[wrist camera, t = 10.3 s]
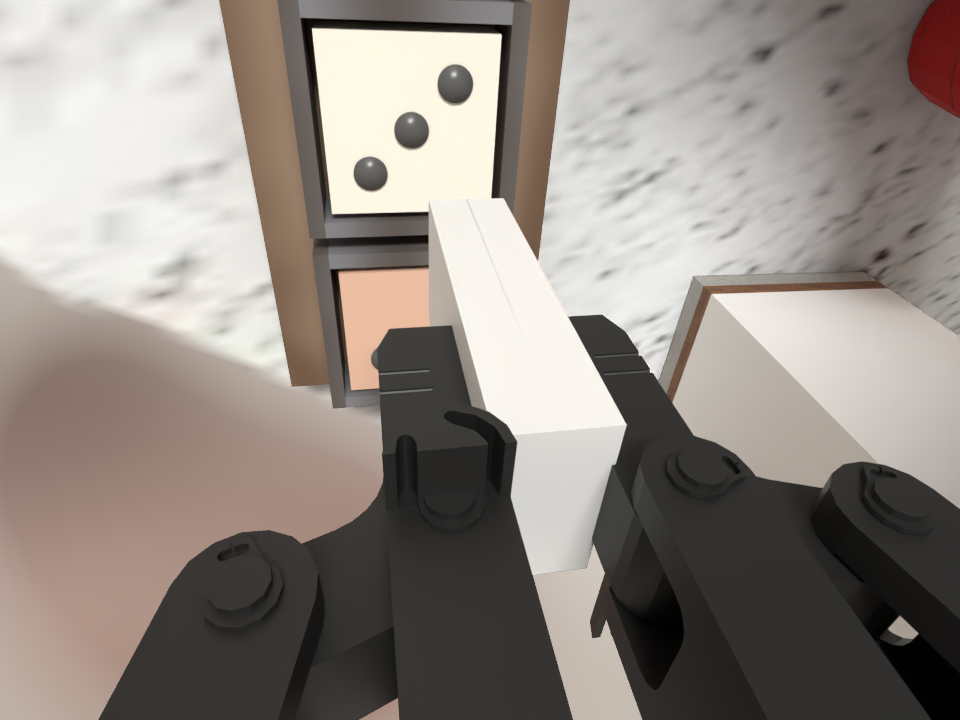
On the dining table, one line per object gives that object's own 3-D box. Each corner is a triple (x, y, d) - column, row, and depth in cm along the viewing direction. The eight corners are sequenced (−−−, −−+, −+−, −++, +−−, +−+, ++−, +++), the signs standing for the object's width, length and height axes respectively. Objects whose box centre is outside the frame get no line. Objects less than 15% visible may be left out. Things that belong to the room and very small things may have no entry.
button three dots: (489, 26, 20) (502, 34, 19) (480, 191, 24) (490, 211, 22) (314, 20, 19) (311, 29, 18) (332, 194, 23) (331, 215, 21)
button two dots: (478, 246, 25) (487, 269, 24) (472, 355, 29) (480, 381, 27) (339, 251, 24) (338, 275, 23) (350, 364, 28) (351, 391, 26)
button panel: (582, -362, 18) (661, -455, 13) (512, 337, 33) (537, 400, 29) (160, -429, 16) (87, -566, 11) (296, 351, 31) (287, 422, 27)
